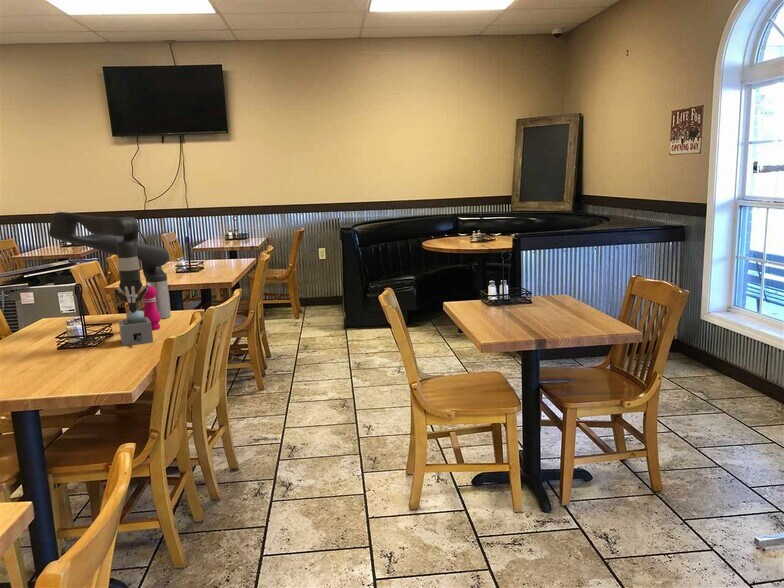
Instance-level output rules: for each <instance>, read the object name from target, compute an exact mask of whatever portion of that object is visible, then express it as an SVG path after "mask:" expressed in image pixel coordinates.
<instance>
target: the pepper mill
mask: <svg viewBox="0 0 784 588" xmlns="http://www.w3.org/2000/svg"><path fill="white" fill-rule="evenodd" d="M145 287H147V288H148V291H147V292H146V294H145V295H144V296H143V298H142V299H143V301H142V303H144V310H143V311H144V317H148V318H149V320H150V321H151V326H152V331H156V330H160V329H161V324H160V321H161V319H160V315H159V313H158V311H157V309H156V307H155V301H156V300H155V299H156V298H155V295H156V290H155V288H153V287H150V284H149V283H147V284H146V283H145ZM141 293H142V292H141V291H140V294H141Z"/></svg>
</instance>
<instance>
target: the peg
mask: <svg viewBox="0 0 784 588" xmlns="http://www.w3.org/2000/svg"><path fill="white" fill-rule="evenodd" d="M144 311H145V310H136V312H131V311H130V310H129V311H127V312H126V319H127V321H129V322H135V321H141V320H144ZM133 336H134V334H133ZM139 337H141V335H140V333H139ZM134 339H136V337H134Z"/></svg>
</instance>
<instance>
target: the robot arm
mask: <svg viewBox="0 0 784 588" xmlns="http://www.w3.org/2000/svg"><path fill="white" fill-rule="evenodd" d="M78 223H79V224H80V225H82V227H83V228H84V229H85V230H87V231H88V232H89V233H91V234H88V235H83V236H81V235H76V231H77V227H78ZM139 226H140V225H139V223H138V220H137V218H135V217H133V216H122V217H111V216H92V215H86V214H79V213H73V212H65V211H64V212H63V211H58V212H54V214H53V215H52V217H51V221H50V225H49V228H48V229H49V231H48V235H49V237H51V238H53V239H54V240H57V241H62V242H65V243H69V244H74V245H79V246H83V247H88V248H91V249H94V250H97V251H101V252H102V253H103V252H104V253H107V254H110V255H114V256H117V268H118V277H119V283H118V284H119V285H118V287H117V288H116V289H114V290H113V292H114V293H115V294H116V296H118V298H119V299H120V300H121V301H122V302H124V303H125V302H126V303H127V304H128V310H129V312H130V311H131V312H136V311H138V310H139V309H138V302H140V301H142V299H143V298H144V297H143V296H144V295H145V294H146V292H147V291H148V288H147V287H146V286H145V285H146V284H147V283H149V284H150V287H153V288H155V290H156V295H155V298H156V299H155V300H156V301H155V307H156V309H157V311H158V313H159V315H160V320H162V319H168V318H171V316H172V315H171V304H170V294H169V285H168V276H167V273H166V272H164V270H163V268H162V266H164V265H166V264H167V263H168V261H169V258H170V255H169V253H168V250H166V249H165V248H164V247H162V246H159V245H152V244H148V243H144V242H140V241H138V239H139V233H140V232H139V231H140V227H139ZM139 261H141V262H139ZM140 263H141V267H142V273H143V276H144V278H145V285H143V283H142V280H141V270H140ZM139 292H140V294H139V295H138V293H139ZM141 292H142V293H141Z"/></svg>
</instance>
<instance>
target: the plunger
mask: <svg viewBox="0 0 784 588" xmlns="http://www.w3.org/2000/svg"><path fill="white" fill-rule="evenodd" d="M134 337H136V340H137V341H138V342H139V341H141V337H139V333H135V334H134Z"/></svg>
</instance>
